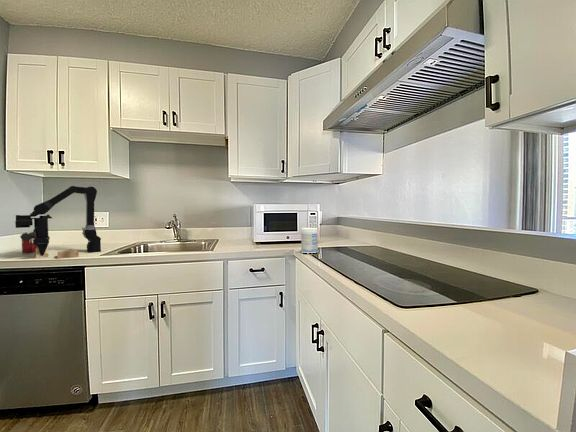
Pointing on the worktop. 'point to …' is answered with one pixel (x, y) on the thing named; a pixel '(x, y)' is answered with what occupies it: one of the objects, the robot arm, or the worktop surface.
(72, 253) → the walnut block
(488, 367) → the worktop surface
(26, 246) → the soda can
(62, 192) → the robot arm
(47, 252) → the oak cube
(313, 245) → the supplement tub
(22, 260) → the worktop surface
